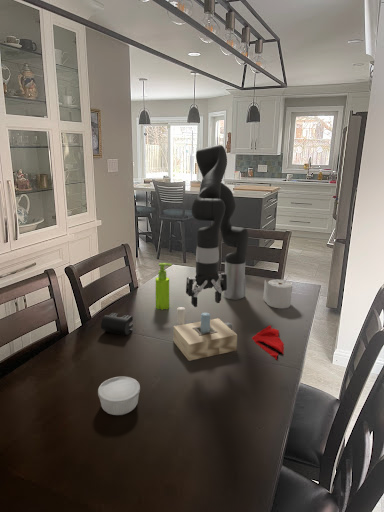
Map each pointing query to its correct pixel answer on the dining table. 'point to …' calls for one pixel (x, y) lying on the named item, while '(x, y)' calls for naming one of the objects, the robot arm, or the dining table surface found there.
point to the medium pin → (180, 316)
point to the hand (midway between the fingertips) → (206, 304)
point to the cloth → (269, 341)
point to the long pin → (205, 323)
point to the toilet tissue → (278, 293)
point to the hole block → (204, 339)
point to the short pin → (229, 325)
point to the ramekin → (119, 395)
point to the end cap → (117, 324)
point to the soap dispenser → (162, 288)
